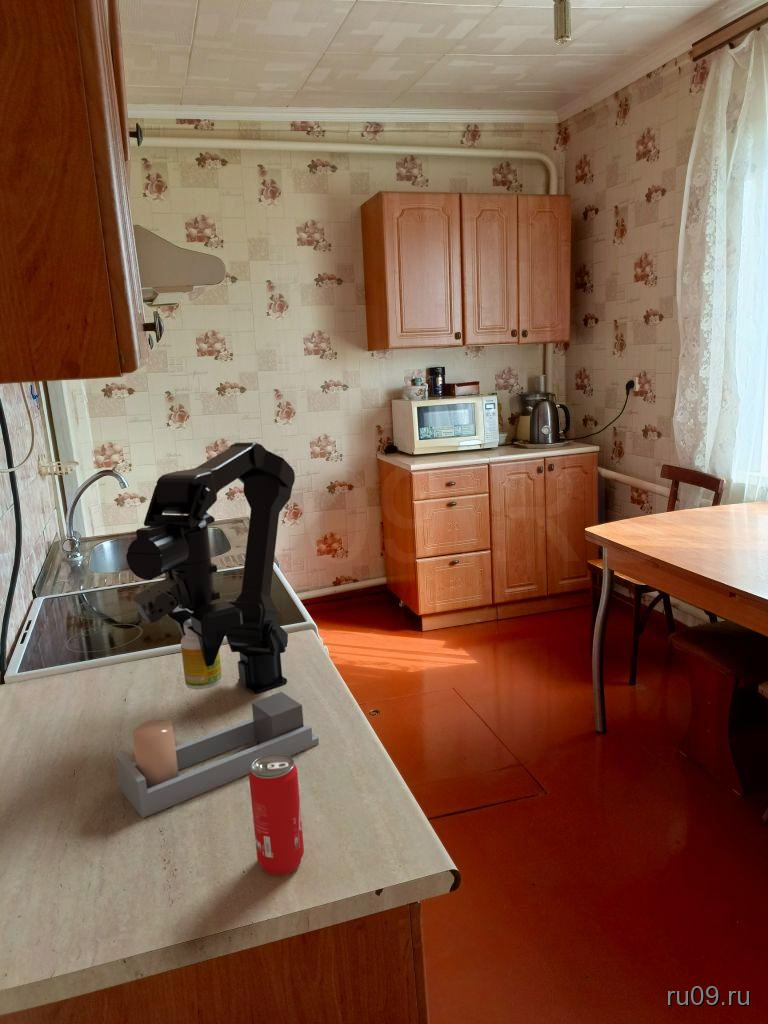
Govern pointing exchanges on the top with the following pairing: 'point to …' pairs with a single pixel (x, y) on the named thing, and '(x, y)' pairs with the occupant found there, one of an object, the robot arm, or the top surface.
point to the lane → (210, 774)
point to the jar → (155, 751)
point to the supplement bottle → (197, 663)
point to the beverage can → (276, 813)
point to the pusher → (276, 717)
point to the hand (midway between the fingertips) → (201, 660)
